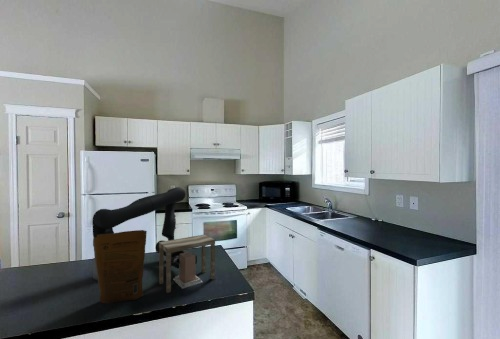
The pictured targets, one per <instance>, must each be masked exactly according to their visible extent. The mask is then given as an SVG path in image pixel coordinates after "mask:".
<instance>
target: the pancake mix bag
mask: <svg viewBox="0 0 500 339" xmlns="http://www.w3.org/2000/svg"><path fill="white" fill-rule="evenodd" d="M147 232H148V231H147V230H145V229H137V230H126V231H119V232H114V233H110V234H100V235H97V238H94V237H93V239H92V247H93V253H94V254H93V256H94V258H95V263H96V270H97V275H98V281H97V282H98V287H99V291H100V292H99V293H100V295H99V300H98V301H99V302H100V303H103V304H113V303H119V302H128V301H135V300H138V299H139V298H141V297H143V296H144V295H145V294H144V291H143V290H144V289H143V277H144V264H145V259H146V258H145V257H146V244H147V234H148V233H147Z"/></svg>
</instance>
